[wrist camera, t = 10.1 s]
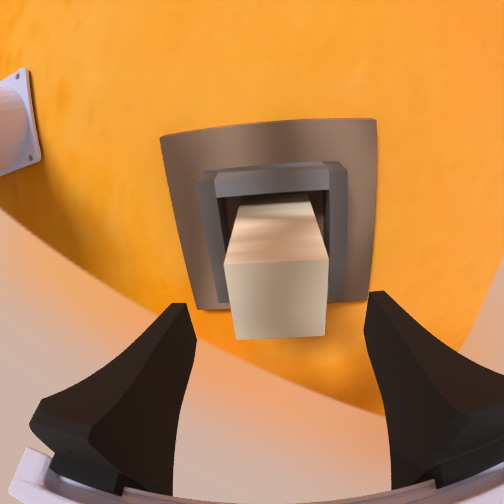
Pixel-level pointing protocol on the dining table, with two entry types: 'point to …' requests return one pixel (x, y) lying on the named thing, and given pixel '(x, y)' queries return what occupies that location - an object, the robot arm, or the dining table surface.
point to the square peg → (277, 269)
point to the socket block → (275, 193)
